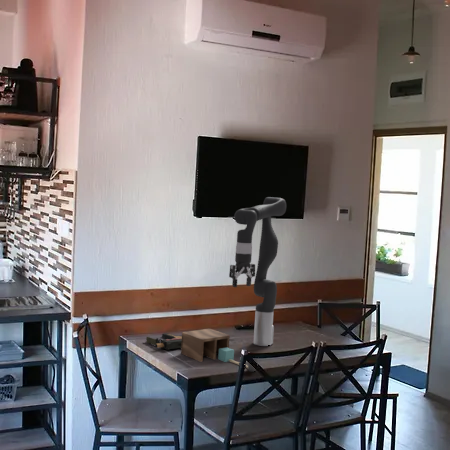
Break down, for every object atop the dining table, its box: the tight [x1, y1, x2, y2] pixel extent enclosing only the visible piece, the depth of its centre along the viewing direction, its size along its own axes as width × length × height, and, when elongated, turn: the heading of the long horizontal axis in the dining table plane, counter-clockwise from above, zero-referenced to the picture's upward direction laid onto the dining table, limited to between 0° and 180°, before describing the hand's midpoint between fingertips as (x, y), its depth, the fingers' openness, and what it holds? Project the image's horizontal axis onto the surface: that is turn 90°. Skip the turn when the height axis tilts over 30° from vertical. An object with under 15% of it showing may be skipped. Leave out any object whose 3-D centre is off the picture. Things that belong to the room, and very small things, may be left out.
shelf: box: [180, 328, 231, 362], centre depth 293 cm, size 17×15×10 cm
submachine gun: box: [145, 332, 182, 351], centre depth 311 cm, size 29×5×25 cm
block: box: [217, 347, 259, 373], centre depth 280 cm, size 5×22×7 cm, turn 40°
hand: (241, 286), depth 294 cm, fingers open, 8 cm apart
